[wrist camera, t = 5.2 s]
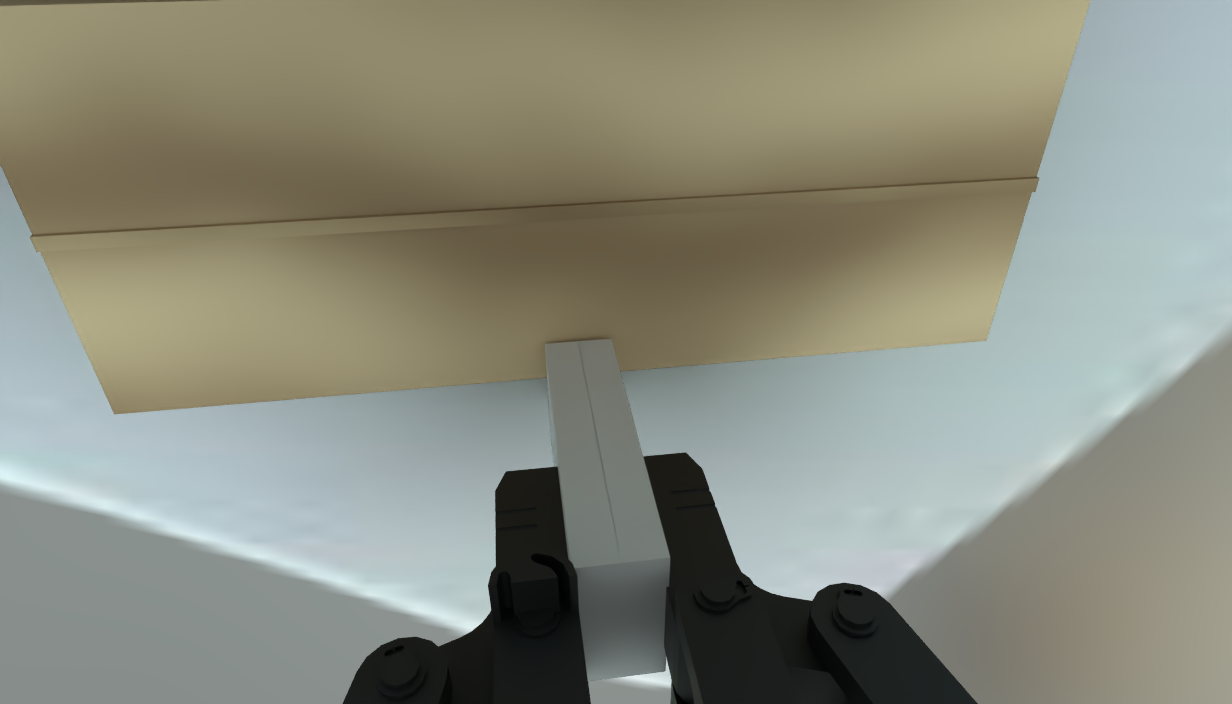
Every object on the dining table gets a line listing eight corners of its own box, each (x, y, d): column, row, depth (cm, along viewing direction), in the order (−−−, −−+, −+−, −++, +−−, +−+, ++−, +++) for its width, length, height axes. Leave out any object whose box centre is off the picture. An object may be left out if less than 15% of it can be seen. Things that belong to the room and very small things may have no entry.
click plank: (-28, -4, 13) (-75, 8, 12) (1056, -29, 15) (1100, -21, 14) (136, 382, 17) (112, 416, 16) (960, 315, 20) (988, 342, 18)
